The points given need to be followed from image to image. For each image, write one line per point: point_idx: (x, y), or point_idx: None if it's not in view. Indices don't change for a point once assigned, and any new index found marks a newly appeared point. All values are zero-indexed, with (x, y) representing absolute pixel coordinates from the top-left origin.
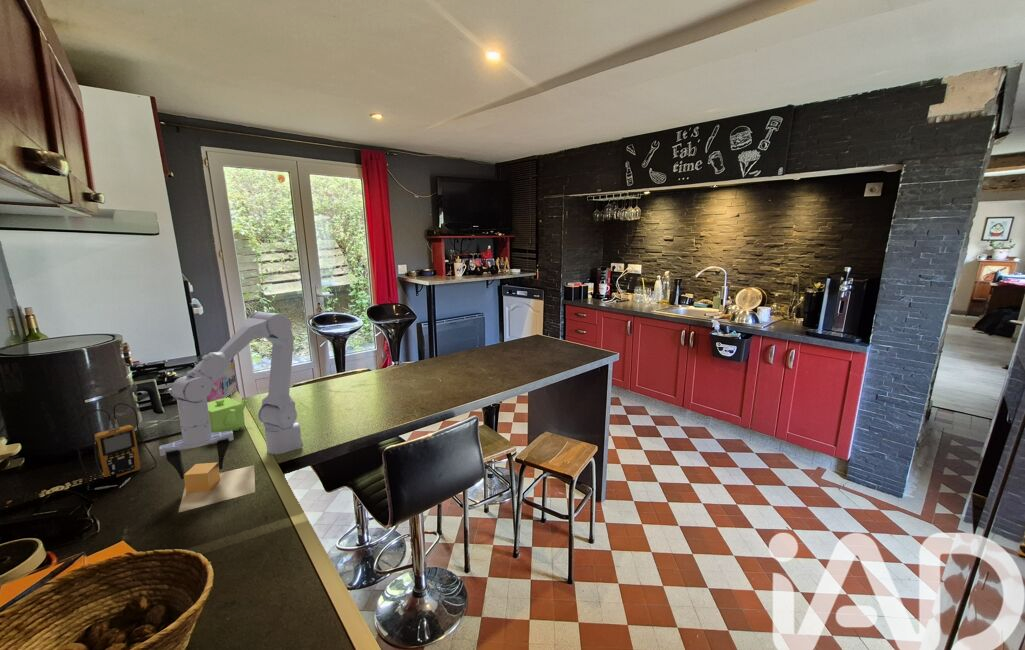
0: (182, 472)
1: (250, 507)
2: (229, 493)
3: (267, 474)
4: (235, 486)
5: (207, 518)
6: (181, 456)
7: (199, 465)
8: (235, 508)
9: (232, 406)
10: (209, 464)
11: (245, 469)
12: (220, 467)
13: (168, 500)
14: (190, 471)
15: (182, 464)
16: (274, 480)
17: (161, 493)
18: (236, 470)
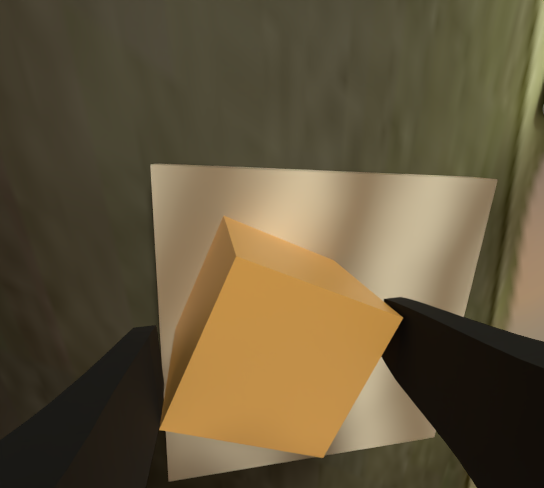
0: (149, 459)
1: (391, 465)
2: (356, 411)
3: (496, 259)
4: (384, 365)
5: (269, 482)
6: (73, 463)
7: (270, 308)
8: (352, 456)
9: None
10: (343, 326)
11: (452, 209)
12: (395, 365)
13: (85, 284)
14: (206, 392)
15: (123, 405)
16: (498, 325)
17: (13, 172)
18: (415, 193)
